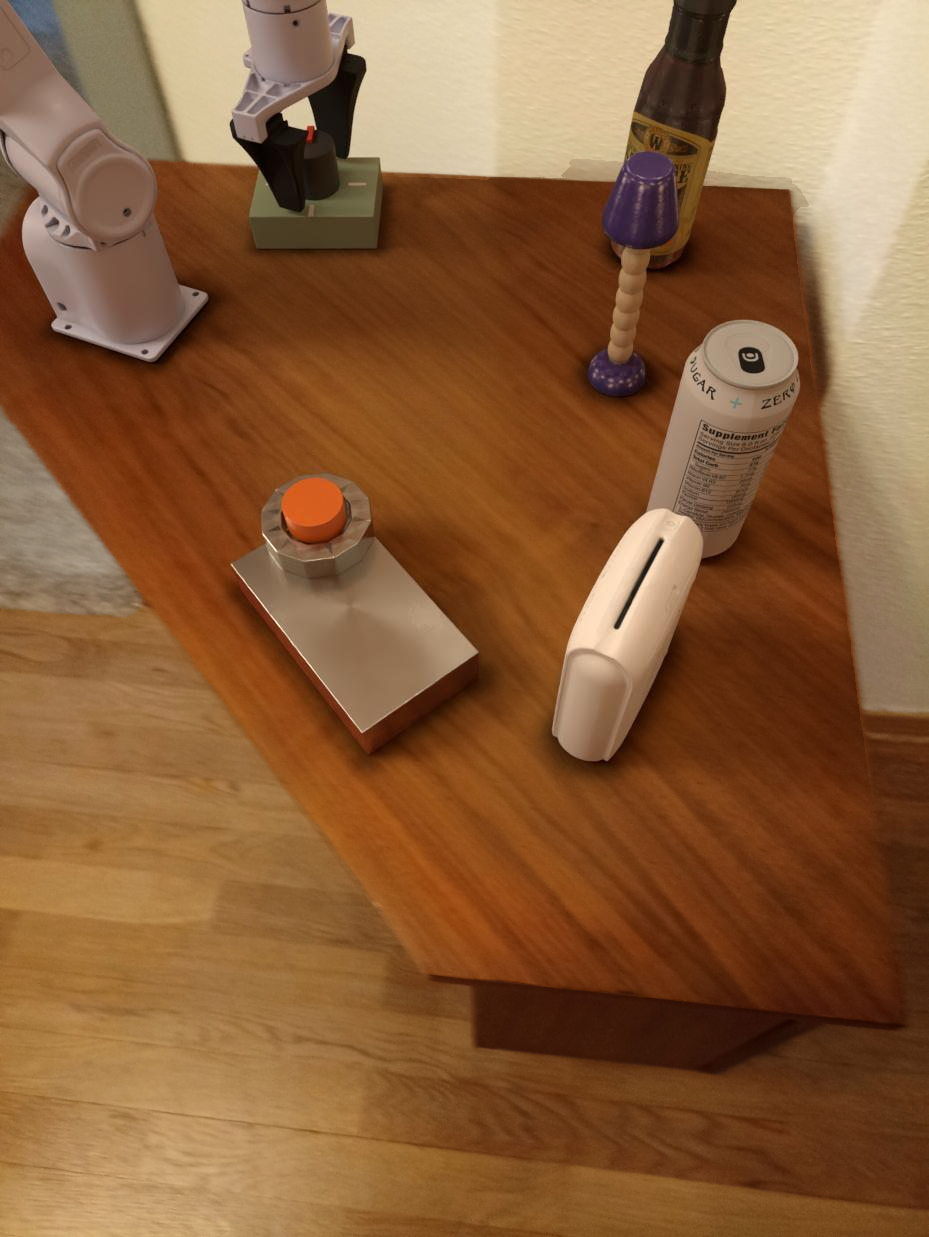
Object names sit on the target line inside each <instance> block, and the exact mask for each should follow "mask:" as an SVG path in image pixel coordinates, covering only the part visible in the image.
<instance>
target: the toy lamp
mask: <svg viewBox="0 0 929 1237" xmlns="http://www.w3.org/2000/svg"><path fill="white" fill-rule="evenodd" d="M623 163H624V162H623ZM623 163H622V166H621V167H620V170H619V173H618V175H617V178H616V179H615V182H614V184H613V186H612V190H611V191H610V194H609V196H608V198H607V200H606V201H607V202H606V204H605V207H604V208H603V212H602V215H601V216H602V217H601V226H602V229H603V231H604V233H605V234H606V235H607V237H608V238H609V239H610V240H612V241H614V242H616V243H617V244H619V245H621V246H624V247H625V249H624V251H623V253H622V258H621V259H620V261H621V262H620V263H621V269H620V271H619V275H618V288H617V291H616V293H615V294H616V295H615V307H614V308H613V311H612V325H611V327H610V332H609V337H610V341H609V343H608V345H607V347H606V348H604V349H602V350H601V351H599V352H598V353H597V354H595V355H594V356H593V358H592V360H591V361H590V363H589V366H588V369H587V379H588V381H589V384H590V385H591V387H593V388H594V389H595V390H596V391H597V392H599V393H601V394H603V395H605V396H609V397H616V398H620V397H628V396H630V395H633V394H635V393H637V392H638V391H639V390H640V389H642V387H643V386H644V384H645V382H646V378H647V377H646V376H647V373H646V372H647V371H646V366H645V363H644V361H643V359H642V357H641V356H640V355H639V354H638V353H637V352H635V351H634V340H635V338H636V335H637V324H638V322H639V319H640V307H641V306H642V303H643V299H644V291H643V289H644V287H645V285H646V282H647V269H648V268H647V266H648V264H649V261H650V251H649V249H653V248H656V247H659V246H662V245H664V244H666V243H667V242H668V241H670V240H671V239H672V238H673V237H674V235H675V234H676V232H677V230H678V226H679V206H678V193H677V181H676V172H675V167H674V164H673V163H672V161H671V160H670V159H669V158H668V157H667V156H665V155H664V154H662V153H659V152H654V151H642V152H638V153H635V154H633V155H632V156H630V157H629V158H628V159H627V160H626V161H625V163H624V164H623Z"/></svg>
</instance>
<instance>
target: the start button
mask: <svg viewBox="0 0 929 1237" xmlns="http://www.w3.org/2000/svg"><path fill="white" fill-rule="evenodd" d="M281 506H282V511H283V514H284V517H285V521H286V524H287V527H288V528H287V530H289V532H290V533H291V534H292V535H293V536H294V537H295V538H296V539H298V540H300V541H302V542H305V543H310V544H319V543H324V542H327V541H329V540H331V539H333V538H335V537H336V536H337V535H339V534H340V533H341V531H342V530H343V529H344V527H345V525H346V521H347V513H346V508H345V504H344V499H343V495H342V492H341V490H340V489H339V487H338V486H337V485H336V484H334V483H333V482H331V481H329V480H326V479H322V478H308V479H304V480H301V481H299V482H297V483H295V484H294V485H292V486H291V487H290V488H289V489H288V490H287V491H286V492H285V494H284V496H283V499H282V505H281Z"/></svg>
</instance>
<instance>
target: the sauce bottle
mask: <svg viewBox="0 0 929 1237" xmlns="http://www.w3.org/2000/svg"><path fill="white" fill-rule="evenodd" d="M672 1H673V2H672V3H673V5H672V10H671V14H670V15H671V16H670V20H669V22H668V30H667V34H666V35H665V38H664V44H663V45H662V47H661V48H660V50H659V52H658V53H657V55H656V56H655V57H654V59H653V60H652V61H651V63H650V64H649V66H648V67H647V69H646V71H645V73H644V75H643V79H642V82H641V85H640V89H639V92H638V95H637V98H636V102H635V105H634V107H633V108H634V109H633V112H632V116H631V122H630V128H629V131H628V137H627V142H626V148H625V153H624V157H623V163H622V165H623V164H624V163H625V161H626V160H627V159H628V158H629V157H630V156H632V155H633V154H635V153H638V152H642V151H654V152H659V153H662V154H664V155H665V156H667V157H668V158H669V159H670V160H671V161H672V163H673V164H674V167H675V172H676V181H677V193H678V206H679V226H678V230H677V232H676V234H675V235H674V237H673V238H672V239H671V240H670V241H668V242H667V243H666V244H664V245H662V246H659V247H656V248H653V249H649V251H650V261H649V264H648V266H647V268H646V269H650V270H661V269H664V268H665V267H667V266H668V265H672V264H673V263H675V262H676V261H678V260H679V258H681V256H682V254H683V252H684V249H685V246H686V244H687V243H688V242H689V238H690V236H691V231H692V228H693V225H694V220H695V218H696V213H697V209H698V207H699V206H698V205H699V202H700V198H701V194H702V190H703V187H704V183H705V180H706V176H707V173H708V169H709V166H710V162H711V158H712V155H713V151H714V148H715V144H716V142H717V141H716V140H717V138H718V132H719V123H720V120H721V117H722V114H723V110H724V108H725V106H726V98H727V83H726V79H725V75H724V70H723V68H722V65H721V64H722V63H721V56H722V52H723V49H724V40H725V36H726V32H727V28H728V25H729V20H730V18H731V17H730V16H731V13H732V11H733V10H734V8H735V7H736V5H737V2H738V0H672ZM610 240H611V239H610ZM610 242H611V243H610V244H611V249H612V251H613V252H614V253H615V255H616V256H617V257H618V258H619V259H620V260H621V258H622V253H623V251H624V249H625V247H624V246H621V245H619V244H617V243H616V242H614V241H612V240H611V241H610Z"/></svg>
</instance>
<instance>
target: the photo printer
mask: <svg viewBox="0 0 929 1237" xmlns="http://www.w3.org/2000/svg"><path fill="white" fill-rule="evenodd" d="M702 551H703V538H702V535H701V532H700V530H699V528H698V527H697V525H696V524H695V523H694V522H693V521H692V519H690V518H689V517H687V516H681V515H677V514H675V513H673V512H671V511H670V510H668V509H655V510H652V511H649V512H647V513H646V512H645V513H644V514H643V515H641V516H640V517H639V518H638V519H637V520H635V522H633V523H632V524H631V526H630V527H629V528H628V529H627V531H626V532H624V534H623V536H622V538H621V539H620V541H619V542H618V544H617V545H616V547H615V548H614V549H613V551H612V553H611V555H610V556H609V558H608V560H607V562H606V563H605V564H604V567H603V569H602V570H601V571H600V574H599V576H598V577H597V579H596V580H595V583H594V585H593V587H592V589H591V590H590V593H589V594H588V596H587V598H586V600H585V602H584V604H583V606H582V609H581V610H580V612H579V615H578V617H577V619H576V622H575V623H574V626H573V628H572V630H571V633H570V635H569V639H568V642H567V645H566V649H565V654H564V659H563V665H562V669H561V675H560V682H559V686H558V692H557V697H556V702H555V708H554V715H553V719H552V720H553V721H552V727H551V733H552V736H553V737H556V738H557V740H558V743H559V745H560V746H561V747H562V749H563V750H564V751H565V752H567V753H568V754H569V755H571V756H573V757H574V758H576V759H578V760H581V761H586V762H599V761H601V760H604V761H605V762H608V761H610V759H611V758H612V757H613V756H614V755H615V754H616V752H617V751H618V750H619V748H620V747H621V745H622V744H623V743H624V740H625V739H626V737H627V736H628V733H629V731H630V730H631V728H632V725H633V724H634V722H635V720H636V718H637V716H638V714H639V712H640V711H641V708H642V706H643V704H644V702H645V700H646V698H647V696H648V694H649V692H650V690H651V688H652V686H653V684H654V682H655V679H656V677H657V675H658V673H659V671H660V669H661V666H662V664H663V661H664V659H665V657H666V656H667V654H668V651H669V647H670V645H671V642H672V639H673V636H674V634H675V632H676V629H677V626H678V624H679V620H680V617H681V615H682V612H683V610H684V607H685V604H686V602H687V600H688V596H689V595H690V591H691V589H692V587H693V584H694V583H695V580H696V577H697V574H698V570H699V567H700V564H701V561H702V559H701V557H702Z"/></svg>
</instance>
